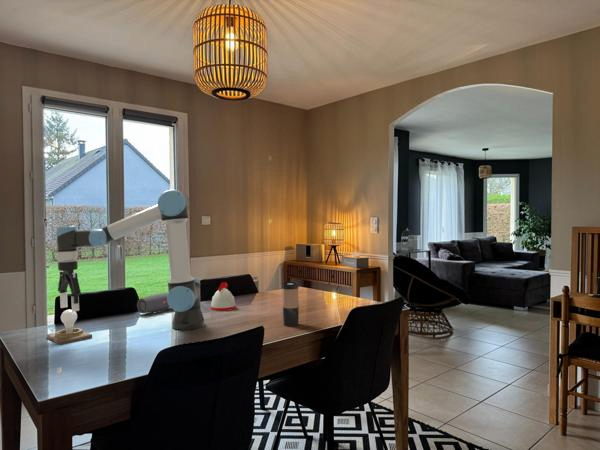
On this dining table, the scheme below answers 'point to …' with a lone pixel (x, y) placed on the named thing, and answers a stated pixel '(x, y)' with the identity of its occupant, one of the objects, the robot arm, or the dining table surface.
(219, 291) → the white dome
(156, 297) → the bluetooth speaker
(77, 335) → the socket
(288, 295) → the travel mug
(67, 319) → the lightbulb
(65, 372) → the dining table surface
